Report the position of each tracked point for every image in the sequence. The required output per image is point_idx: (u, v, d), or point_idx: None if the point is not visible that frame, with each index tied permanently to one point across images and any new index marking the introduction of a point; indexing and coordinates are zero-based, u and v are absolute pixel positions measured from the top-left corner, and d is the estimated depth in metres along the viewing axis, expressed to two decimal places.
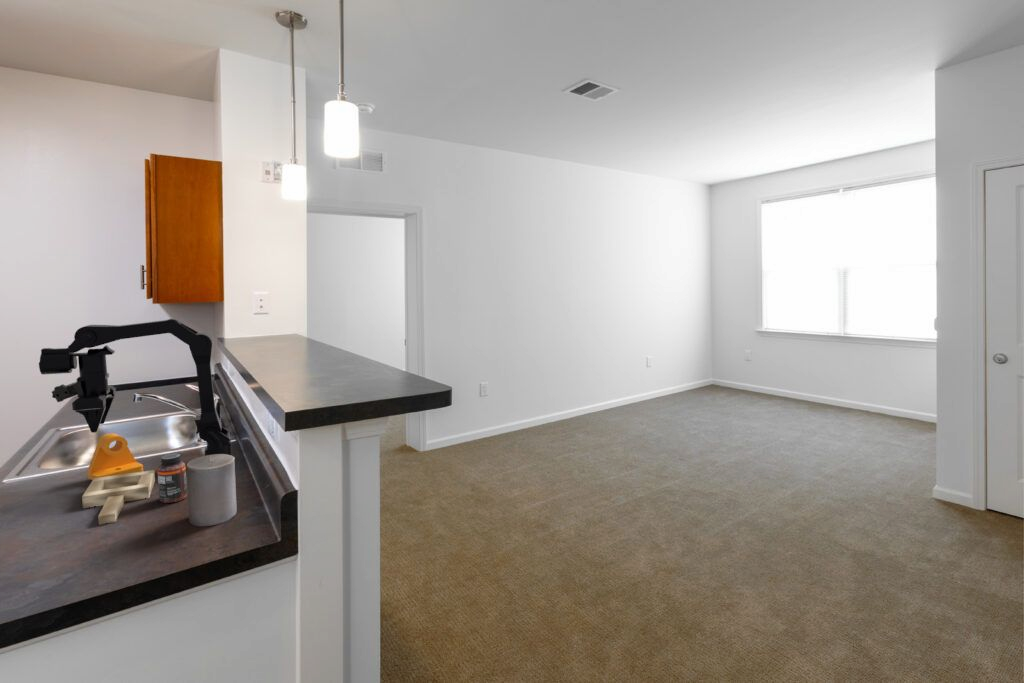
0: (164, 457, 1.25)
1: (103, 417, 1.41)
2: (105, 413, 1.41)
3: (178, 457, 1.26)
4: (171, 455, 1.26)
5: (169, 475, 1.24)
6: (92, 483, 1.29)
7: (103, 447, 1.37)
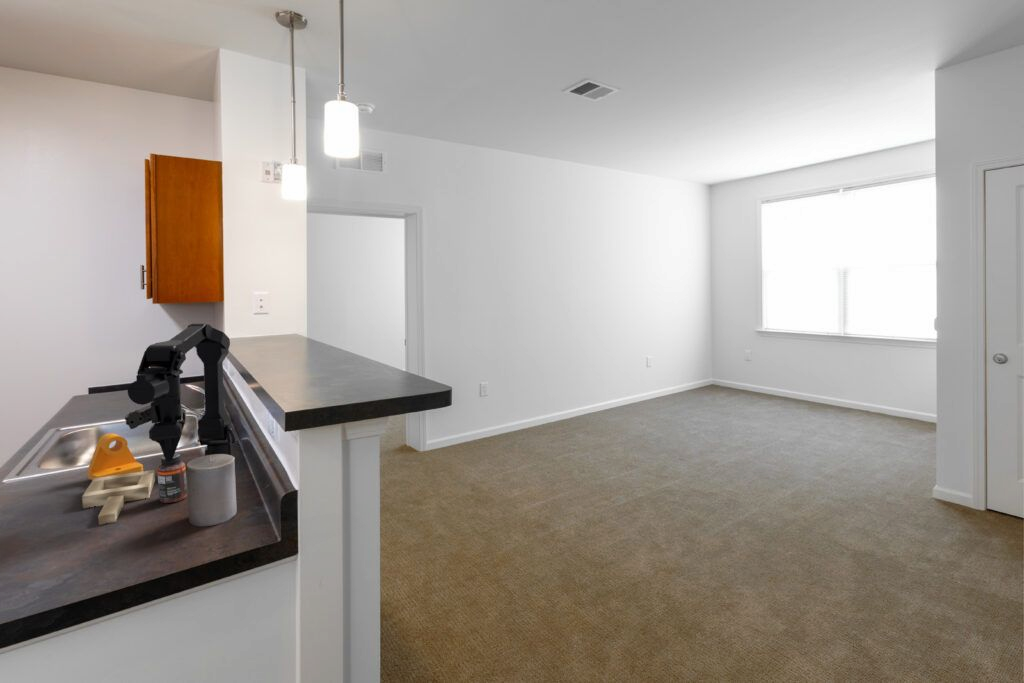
0: (164, 457, 1.25)
1: None
2: None
3: (178, 457, 1.26)
4: None
5: (169, 475, 1.24)
6: (92, 483, 1.29)
7: (103, 447, 1.37)
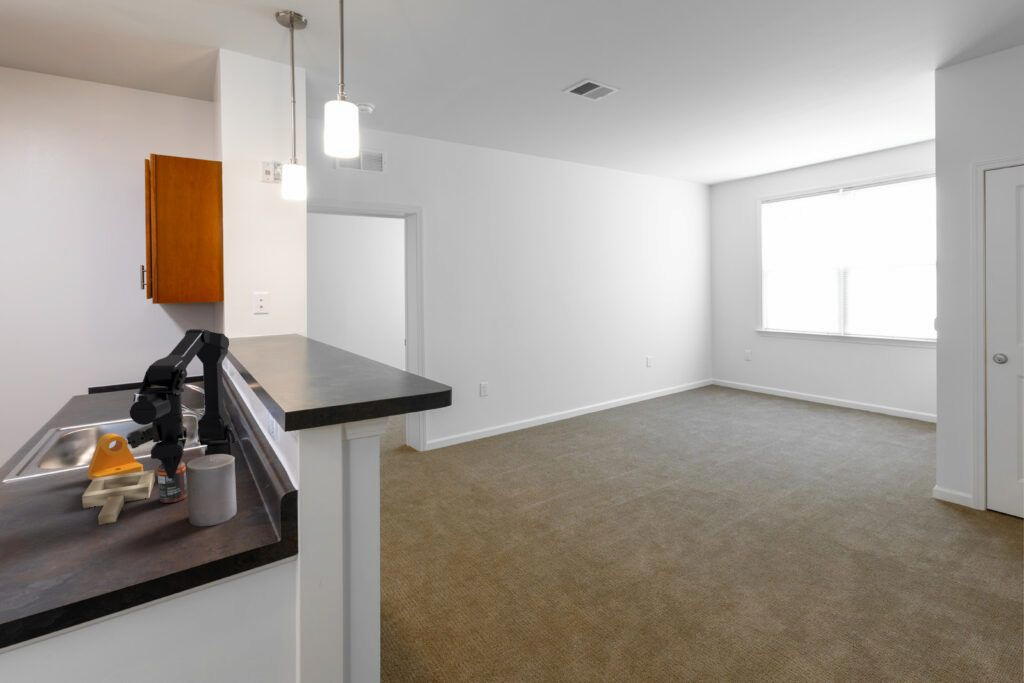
0: None
1: None
2: None
3: None
4: None
5: None
6: (92, 483, 1.29)
7: (103, 447, 1.37)
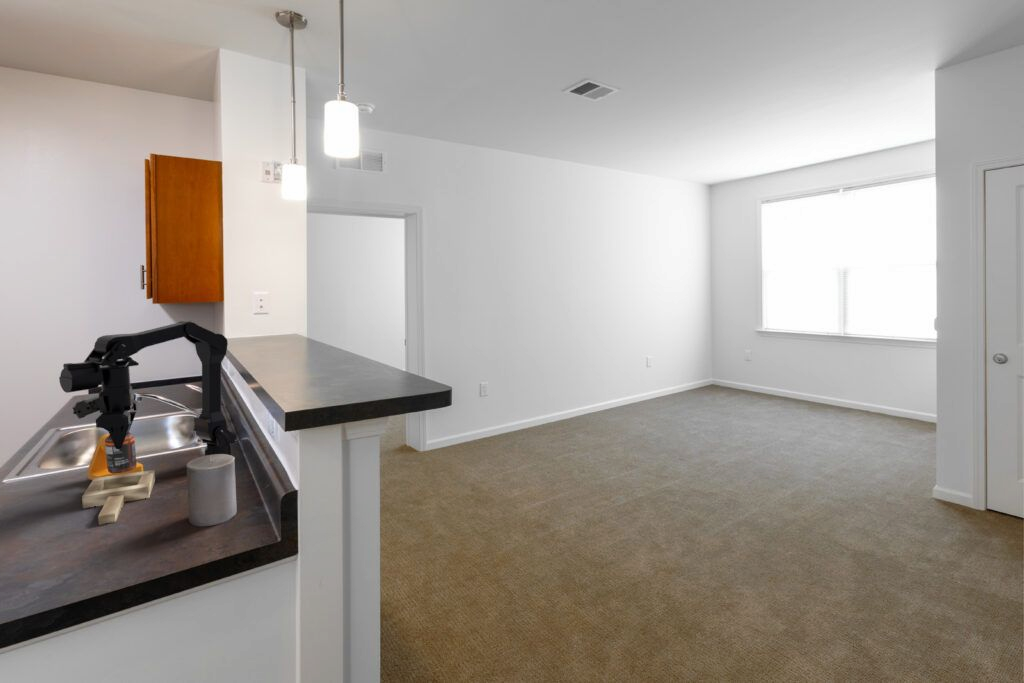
0: None
1: None
2: None
3: None
4: None
5: None
6: (92, 483, 1.29)
7: (103, 447, 1.37)
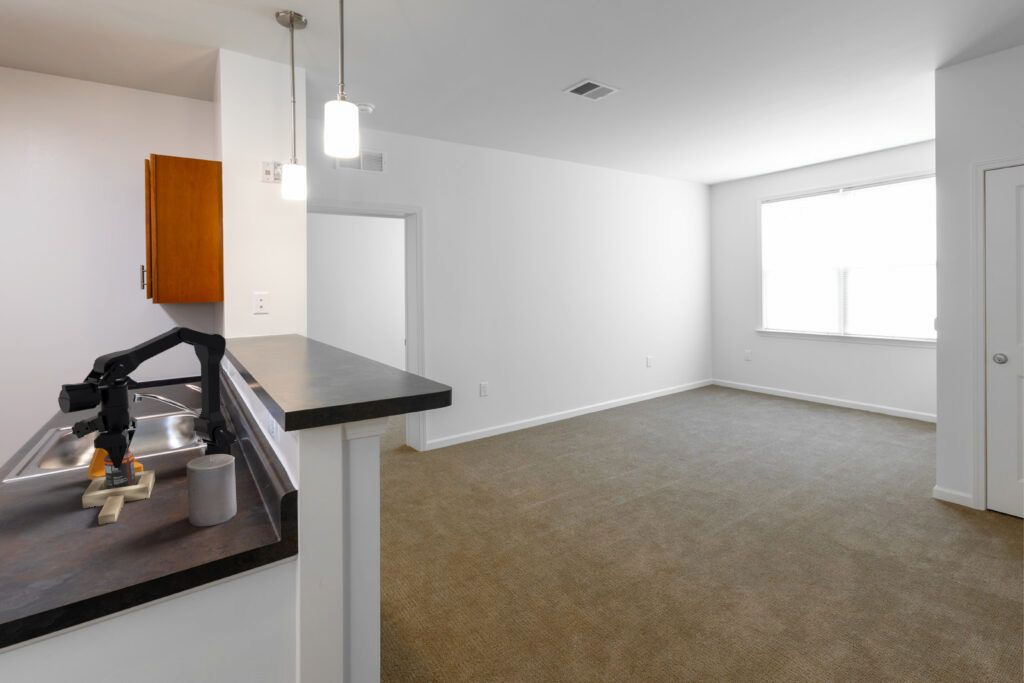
0: None
1: None
2: None
3: None
4: None
5: None
6: (92, 483, 1.29)
7: None
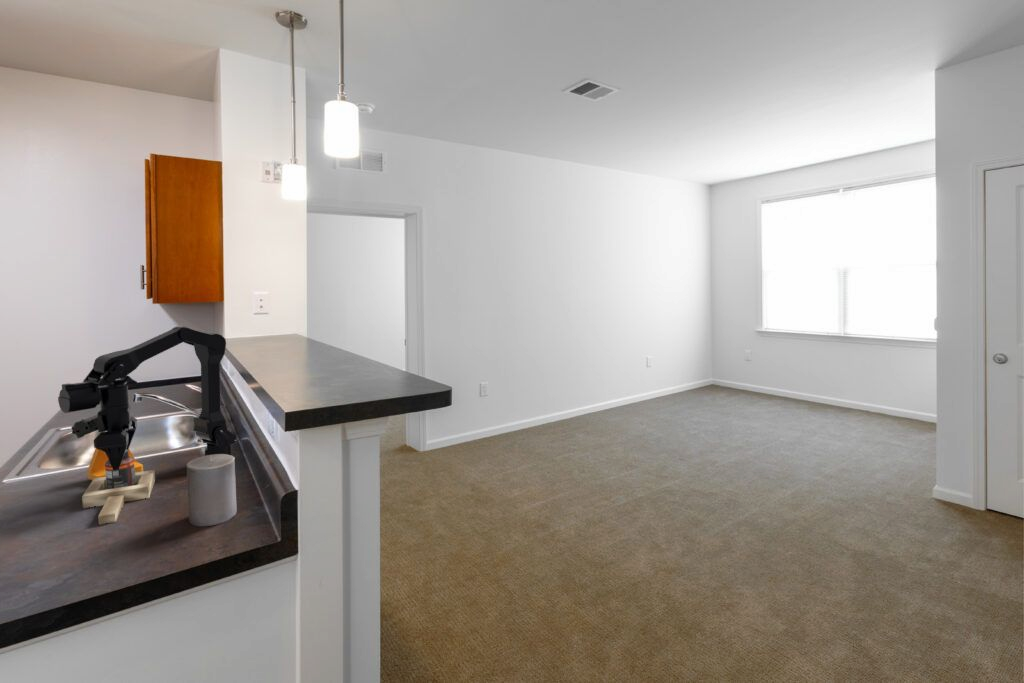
0: None
1: None
2: (126, 447, 1.33)
3: (126, 452, 1.29)
4: None
5: (116, 470, 1.27)
6: (92, 483, 1.29)
7: None
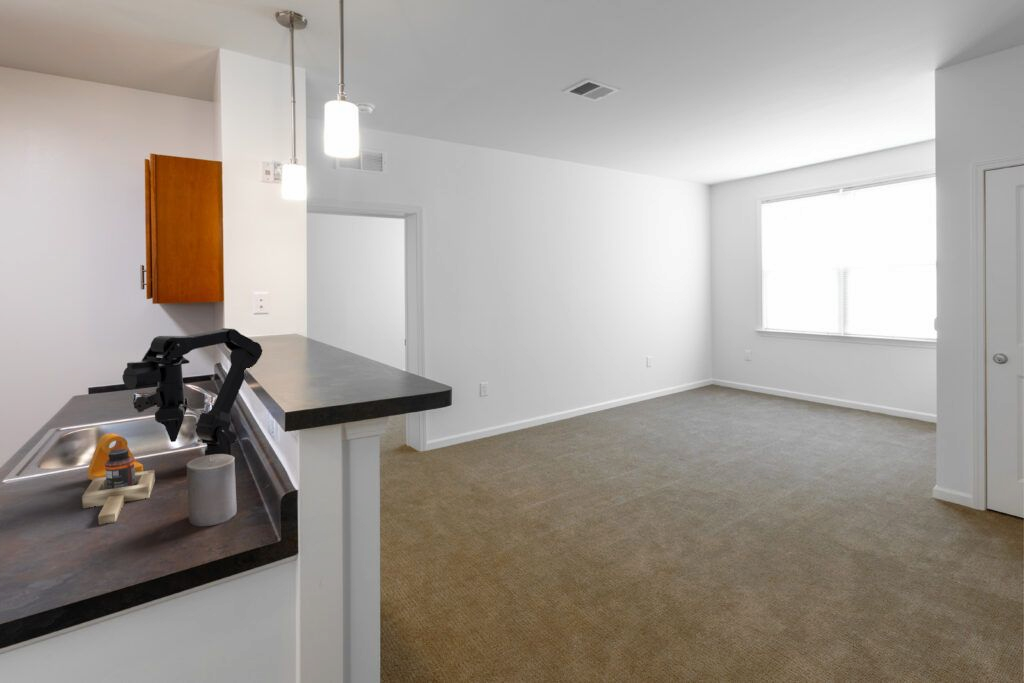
0: (111, 452, 1.28)
1: None
2: None
3: (126, 452, 1.29)
4: (119, 450, 1.29)
5: (116, 470, 1.27)
6: (92, 483, 1.29)
7: (103, 447, 1.37)
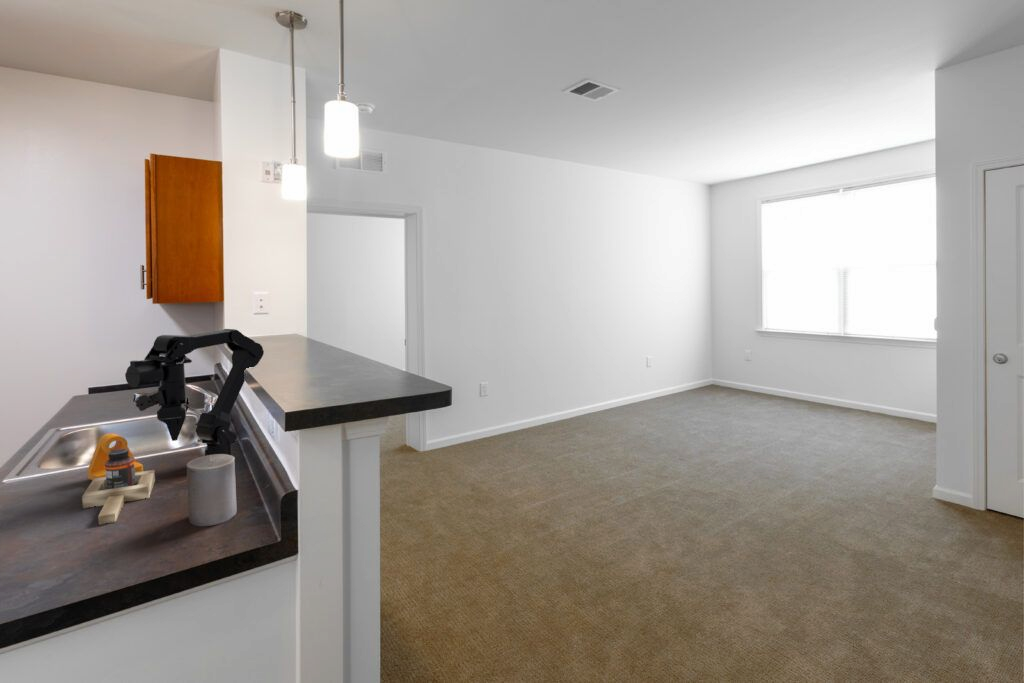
0: (111, 452, 1.28)
1: None
2: None
3: (126, 452, 1.29)
4: (119, 450, 1.29)
5: (116, 470, 1.27)
6: (92, 483, 1.29)
7: (103, 447, 1.37)
